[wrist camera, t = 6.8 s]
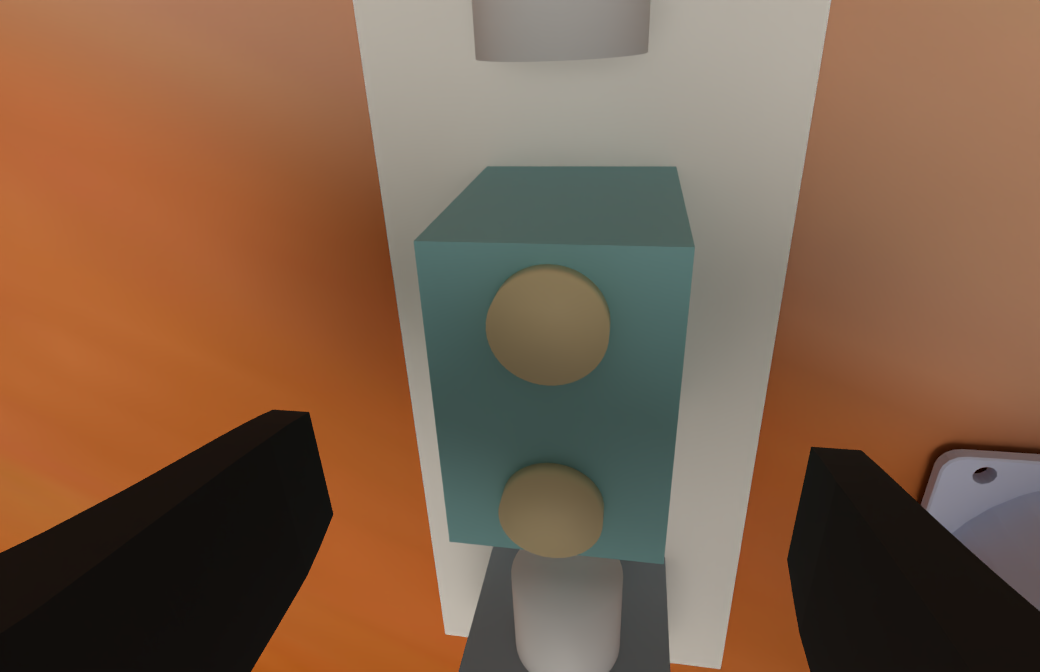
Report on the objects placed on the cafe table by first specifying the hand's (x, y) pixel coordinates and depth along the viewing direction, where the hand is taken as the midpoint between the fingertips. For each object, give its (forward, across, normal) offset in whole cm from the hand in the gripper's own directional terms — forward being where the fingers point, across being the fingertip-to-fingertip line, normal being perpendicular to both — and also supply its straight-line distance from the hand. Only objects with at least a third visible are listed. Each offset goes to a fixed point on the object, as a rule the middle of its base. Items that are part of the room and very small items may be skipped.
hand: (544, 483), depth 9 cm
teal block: (+6, 0, 0) cm, 6 cm away
